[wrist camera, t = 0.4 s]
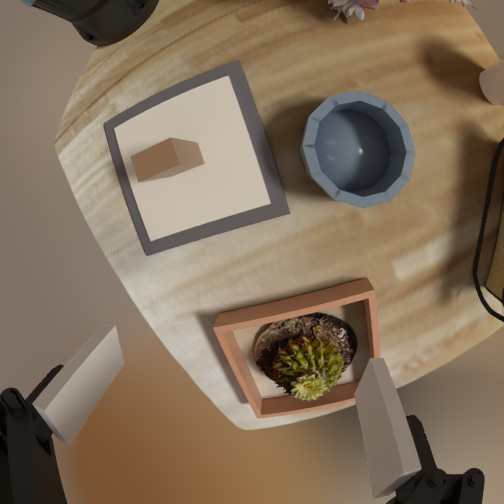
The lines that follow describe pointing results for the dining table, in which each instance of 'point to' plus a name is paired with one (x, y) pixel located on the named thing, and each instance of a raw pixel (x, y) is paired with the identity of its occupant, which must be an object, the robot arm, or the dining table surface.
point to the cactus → (305, 353)
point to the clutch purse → (500, 276)
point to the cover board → (203, 182)
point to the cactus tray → (285, 311)
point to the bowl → (357, 149)
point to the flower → (350, 3)
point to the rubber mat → (259, 145)
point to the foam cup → (493, 83)
